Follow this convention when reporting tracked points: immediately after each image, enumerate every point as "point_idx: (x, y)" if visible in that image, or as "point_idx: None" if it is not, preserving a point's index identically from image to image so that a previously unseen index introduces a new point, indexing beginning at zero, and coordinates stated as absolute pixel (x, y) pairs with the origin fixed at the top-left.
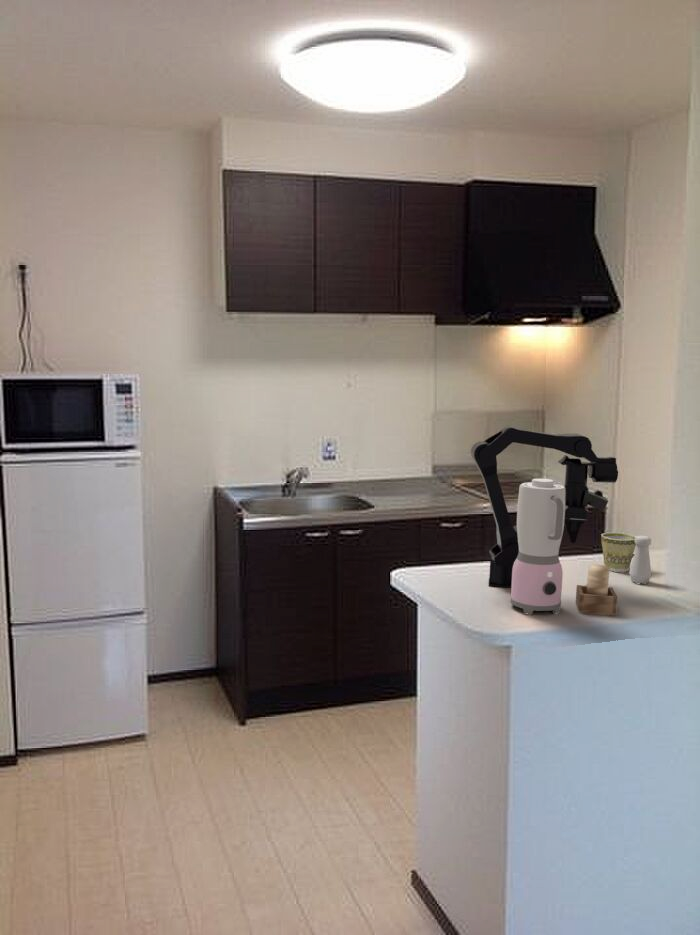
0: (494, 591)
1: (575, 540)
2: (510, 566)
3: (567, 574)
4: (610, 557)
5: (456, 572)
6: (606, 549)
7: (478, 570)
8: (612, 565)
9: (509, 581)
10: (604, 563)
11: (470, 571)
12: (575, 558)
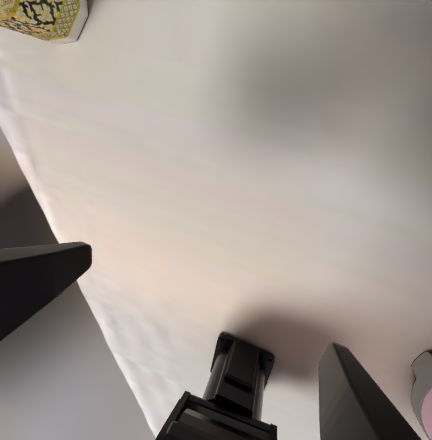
0: (301, 399)
1: (363, 372)
2: (253, 409)
3: (139, 178)
4: (38, 3)
5: (164, 392)
6: (1, 4)
7: (145, 352)
8: (68, 12)
9: (259, 366)
10: (46, 39)
11: (154, 368)
12: (5, 113)
